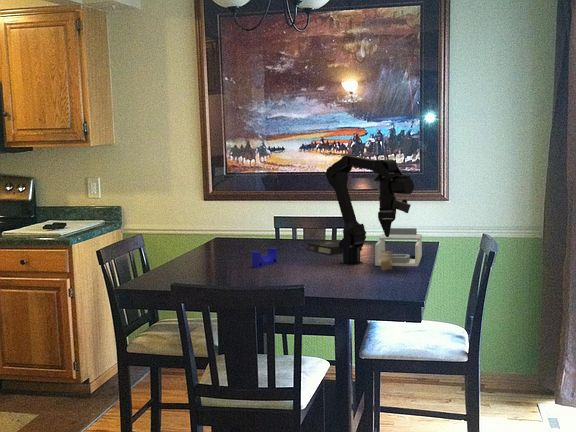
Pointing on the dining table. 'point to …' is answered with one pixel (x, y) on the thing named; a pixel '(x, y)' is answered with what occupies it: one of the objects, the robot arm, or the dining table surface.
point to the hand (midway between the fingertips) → (387, 235)
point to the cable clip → (264, 258)
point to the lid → (402, 234)
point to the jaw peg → (386, 260)
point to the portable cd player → (326, 247)
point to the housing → (399, 255)
